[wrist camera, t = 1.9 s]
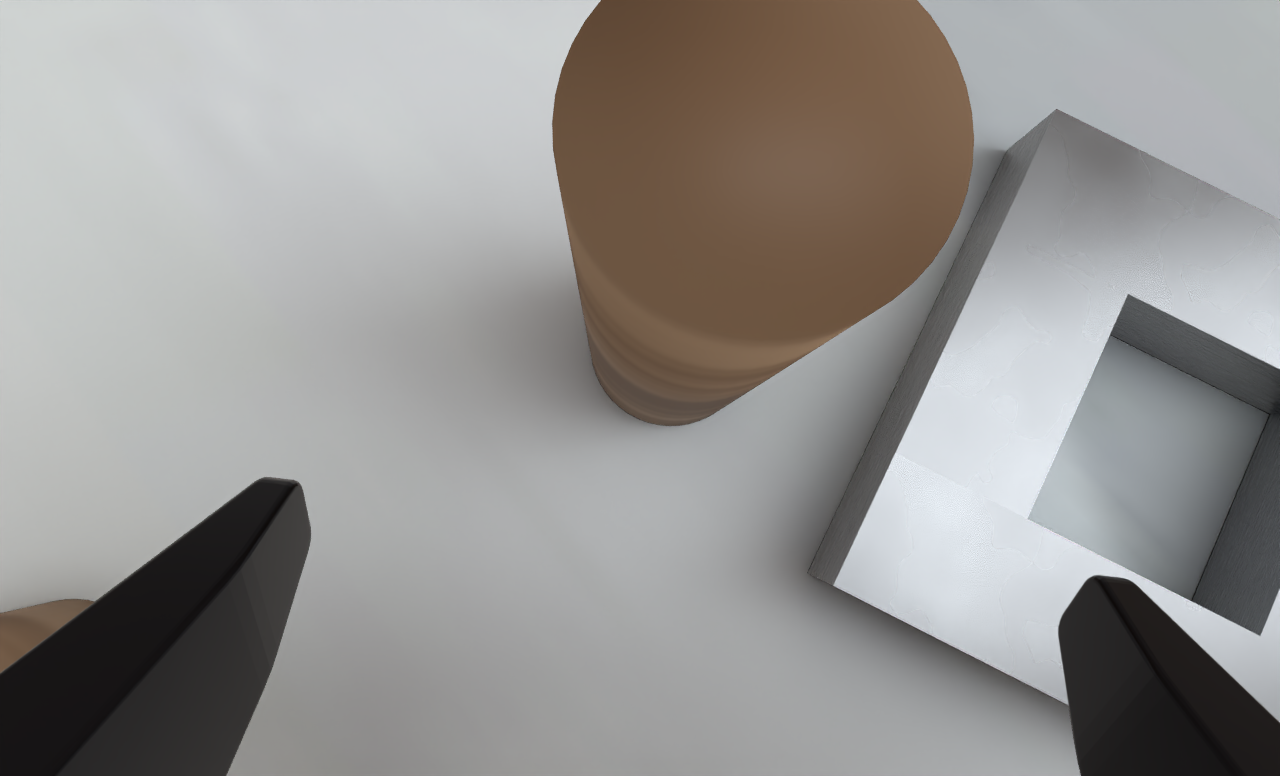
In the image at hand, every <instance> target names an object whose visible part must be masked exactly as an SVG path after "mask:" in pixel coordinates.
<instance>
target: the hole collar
mask: <svg viewBox="0 0 1280 776" xmlns="http://www.w3.org/2000/svg"><path fill="white" fill-rule="evenodd" d="M1109 335H1112V336H1114V337H1116V338H1118V339H1120V340H1122V341H1124V342H1126V343H1128V344H1130V345H1132V346H1134V347H1136V348H1138V349H1140V350H1142V351H1144V352H1146V353H1148V354H1150V355H1152V356H1154V357H1156V358H1158V359H1160V360H1162V361H1164V362H1166V363H1168V364H1170V365H1172V366H1174V367H1176V368H1178V369H1180V370H1182V371H1184V372H1186V373H1188V374H1190V375H1192V376H1194V377H1196V378H1198V379H1200V380H1202V381H1204V382H1206V383H1208V384H1210V385H1212V386H1214V387H1216V388H1218V389H1220V390H1222V391H1224V392H1226V393H1228V394H1230V395H1232V396H1235V397H1237V398H1239V399H1241V400H1243V401H1245V402H1247V403H1249V404H1251V405H1253V406H1255V407H1257V408H1259V409H1261V410H1263V411H1265V412H1267V413H1269V414H1270V417H1269V419H1268V421H1267V424H1266V426H1265V428H1264V431H1263V433H1262V436H1261V438H1260V440H1259V443H1258V445H1257V447H1256V450H1255V452H1254V455H1253V457H1252V459H1251V462H1250V464H1249V466H1248V469H1247V471H1246V474H1245V476H1244V478H1243V481H1242V483H1241V485H1240V488H1239V490H1238V493H1237V495H1236V497H1235V500H1234V502H1233V504H1232V507H1231V509H1230V512H1229V514H1228V516H1227V519H1226V521H1225V523H1224V526H1223V528H1222V531H1221V533H1220V535H1219V538H1218V540H1217V543H1216V545H1215V547H1214V550H1213V552H1212V554H1211V557H1210V559H1209V562H1208V564H1207V566H1206V569H1205V571H1204V573H1203V576H1202V578H1201V581H1200V583H1199V585H1198V588H1197V590H1196V592H1195V595H1194V597H1193V600H1192V601H1190V600H1188V599H1186V598H1184V597H1182V596H1180V595H1178V594H1176V593H1174V592H1172V591H1170V590H1168V589H1166V588H1164V587H1162V586H1160V585H1158V584H1156V583H1154V582H1152V581H1150V580H1148V579H1146V578H1144V577H1142V576H1140V575H1138V574H1136V573H1134V572H1132V571H1130V570H1128V569H1126V568H1124V567H1122V566H1120V565H1118V564H1116V563H1114V562H1112V561H1110V560H1108V559H1106V558H1104V557H1102V556H1100V555H1098V554H1096V553H1094V552H1092V551H1090V550H1088V549H1086V548H1084V547H1082V546H1080V545H1079V544H1077V543H1075V542H1073V541H1071V540H1069V539H1067V538H1065V537H1063V536H1061V535H1059V534H1057V533H1055V532H1053V531H1051V530H1049V529H1047V528H1045V527H1043V526H1041V525H1039V524H1037V523H1035V522H1033V521H1031V520H1029V519H1028V517H1029V514H1030V512H1031V510H1032V508H1033V505H1034V503H1035V501H1036V499H1037V496H1038V494H1039V492H1040V490H1041V488H1042V485H1043V483H1044V481H1045V479H1046V476H1047V474H1048V472H1049V470H1050V467H1051V465H1052V463H1053V461H1054V458H1055V456H1056V454H1057V452H1058V450H1059V447H1060V445H1061V443H1062V441H1063V438H1064V436H1065V434H1066V432H1067V429H1068V427H1069V425H1070V423H1071V420H1072V418H1073V416H1074V414H1075V411H1076V409H1077V407H1078V405H1079V403H1080V400H1081V398H1082V396H1083V394H1084V391H1085V389H1086V387H1087V385H1088V382H1089V380H1090V378H1091V376H1092V373H1093V371H1094V369H1095V367H1096V365H1097V362H1098V360H1099V358H1100V356H1101V353H1102V351H1103V349H1104V347H1105V344H1106V342H1107V340H1108V338H1109ZM808 573H809V574H810V575H812V576H814V577H816V578H818V579H820V580H822V581H824V582H826V583H828V584H830V585H832V586H834V587H836V588H838V589H840V590H842V591H844V592H846V593H848V594H850V595H852V596H854V597H856V598H858V599H860V600H862V601H864V602H866V603H868V604H870V605H872V606H873V607H875V608H877V609H879V610H881V611H883V612H885V613H887V614H889V615H891V616H893V617H895V618H897V619H899V620H901V621H903V622H905V623H907V624H909V625H911V626H913V627H915V628H917V629H919V630H921V631H923V632H925V633H927V634H929V635H931V636H933V637H935V638H937V639H938V640H940V641H942V642H944V643H946V644H948V645H950V646H952V647H954V648H956V649H958V650H960V651H962V652H964V653H966V654H968V655H970V656H972V657H974V658H976V659H978V660H980V661H982V662H984V663H986V664H988V665H990V666H992V667H994V668H996V669H998V670H1000V671H1002V672H1003V673H1005V674H1007V675H1009V676H1011V677H1013V678H1015V679H1017V680H1019V681H1021V682H1023V683H1025V684H1027V685H1029V686H1031V687H1033V688H1035V689H1037V690H1039V691H1041V692H1043V693H1045V694H1047V695H1049V696H1051V697H1053V698H1055V699H1057V700H1059V701H1061V702H1063V703H1065V704H1066V705H1068V698H1067V692H1066V685H1065V678H1064V672H1063V665H1062V659H1061V652H1060V645H1059V639H1058V627H1059V622H1060V619H1061V616H1062V614H1063V613H1064V611H1065V610H1066V608H1067V607H1068V605H1069V604H1070V602H1071V601H1072V600H1073V598H1074V597H1075V595H1076V594H1077V592H1078V591H1079V589H1080V588H1081V586H1082V585H1083V584H1084V582H1085V581H1086V580H1087V579H1088V578H1090V577H1091V576H1093V575H1103V576H1111V577H1119V578H1125V579H1128V580H1130V581H1132V582H1134V583H1135V584H1136V585H1137V586H1138V587H1139V588H1140V589H1141V590H1143V591H1144V592H1145V593H1146V594H1147V595H1148V596H1149V597H1150V598H1151V599H1152V600H1153V601H1154V602H1155V603H1156V604H1157V605H1158V606H1159V607H1160V608H1161V609H1162V610H1163V611H1164V612H1165V613H1166V614H1168V615H1169V616H1170V617H1171V618H1172V619H1173V620H1174V621H1175V622H1176V623H1177V624H1178V625H1179V626H1180V627H1181V628H1182V629H1183V630H1184V631H1185V632H1186V633H1187V634H1188V635H1189V636H1190V637H1191V638H1193V639H1194V640H1195V641H1196V642H1197V643H1198V644H1199V645H1200V646H1201V647H1202V648H1203V649H1204V650H1205V651H1206V652H1207V653H1208V654H1209V655H1210V656H1211V657H1212V658H1213V659H1214V660H1215V661H1216V662H1218V663H1219V664H1220V665H1221V666H1222V667H1223V668H1224V669H1225V670H1226V671H1227V672H1228V673H1229V674H1230V675H1231V676H1232V677H1233V678H1234V679H1235V680H1236V681H1237V682H1238V683H1239V684H1240V685H1241V686H1243V687H1244V688H1245V689H1246V690H1247V691H1248V692H1249V693H1250V694H1251V695H1252V696H1253V697H1254V698H1255V699H1256V700H1257V701H1258V702H1259V703H1260V704H1261V705H1262V706H1263V707H1264V708H1265V709H1266V710H1268V711H1269V712H1270V713H1271V714H1272V715H1273V716H1274V717H1275V718H1276V719H1277V720H1278V721H1279V722H1280V219H1279V218H1277V217H1275V216H1273V215H1271V214H1269V213H1267V212H1265V211H1263V210H1260V209H1258V208H1256V207H1254V206H1252V205H1250V204H1248V203H1246V202H1244V201H1242V200H1240V199H1238V198H1236V197H1234V196H1232V195H1230V194H1228V193H1226V192H1224V191H1222V190H1220V189H1218V188H1216V187H1214V186H1212V185H1210V184H1208V183H1206V182H1204V181H1202V180H1200V179H1198V178H1196V177H1194V176H1192V175H1190V174H1187V173H1185V172H1183V171H1181V170H1179V169H1177V168H1175V167H1173V166H1171V165H1169V164H1167V163H1165V162H1163V161H1161V160H1159V159H1157V158H1155V157H1153V156H1151V155H1149V154H1147V153H1145V152H1143V151H1141V150H1139V149H1137V148H1135V147H1133V146H1131V145H1129V144H1127V143H1125V142H1123V141H1121V140H1119V139H1117V138H1114V137H1112V136H1110V135H1108V134H1106V133H1104V132H1102V131H1100V130H1098V129H1096V128H1094V127H1092V126H1090V125H1088V124H1086V123H1084V122H1082V121H1080V120H1078V119H1076V118H1074V117H1072V116H1070V115H1068V114H1066V113H1064V112H1062V111H1060V110H1058V109H1056V110H1055V111H1054V112H1052V113H1051V114H1050V115H1049V116H1048V117H1046V118H1045V119H1044V120H1043V121H1042V122H1040V123H1039V124H1038V125H1037V126H1036V127H1034V128H1033V129H1032V130H1031V131H1030V132H1028V133H1027V134H1026V135H1025V136H1024V137H1022V138H1021V139H1020V140H1019V141H1018V142H1016V143H1015V144H1014V145H1013V146H1012V147H1010V148H1009V149H1008V150H1007V152H1006V154H1005V156H1004V158H1003V160H1002V163H1001V165H1000V167H999V169H998V171H997V173H996V175H995V177H994V179H993V182H992V184H991V186H990V188H989V190H988V192H987V194H986V196H985V198H984V201H983V203H982V205H981V207H980V209H979V211H978V213H977V215H976V217H975V220H974V222H973V224H972V226H971V228H970V230H969V232H968V234H967V237H966V239H965V241H964V243H963V245H962V247H961V249H960V251H959V253H958V256H957V258H956V260H955V262H954V264H953V266H952V268H951V270H950V272H949V275H948V277H947V279H946V281H945V283H944V285H943V287H942V289H941V291H940V294H939V296H938V298H937V300H936V302H935V304H934V306H933V308H932V310H931V313H930V315H929V317H928V319H927V321H926V323H925V325H924V327H923V330H922V332H921V334H920V336H919V338H918V340H917V342H916V344H915V346H914V349H913V351H912V353H911V355H910V357H909V359H908V361H907V363H906V365H905V368H904V370H903V372H902V374H901V376H900V378H899V380H898V382H897V384H896V387H895V389H894V391H893V393H892V395H891V397H890V399H889V401H888V403H887V406H886V408H885V410H884V412H883V414H882V416H881V418H880V420H879V422H878V425H877V427H876V429H875V431H874V433H873V435H872V437H871V439H870V442H869V444H868V446H867V448H866V450H865V452H864V454H863V456H862V458H861V461H860V463H859V465H858V467H857V469H856V471H855V473H854V475H853V477H852V480H851V482H850V484H849V486H848V488H847V490H846V492H845V494H844V496H843V499H842V501H841V503H840V505H839V507H838V509H837V511H836V513H835V515H834V518H833V520H832V522H831V524H830V526H829V528H828V530H827V532H826V534H825V537H824V539H823V541H822V543H821V545H820V547H819V549H818V551H817V554H816V556H815V558H814V560H813V562H812V564H811V566H810V568H809V570H808ZM1068 706H1069V705H1068Z"/></svg>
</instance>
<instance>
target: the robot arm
mask: <svg viewBox="0 0 1280 776" xmlns="http://www.w3.org/2000/svg"><path fill="white" fill-rule="evenodd" d="M310 541H311V527H310V522H309V517H308V512H307V507H306V502H305V497H304V493H303V489H302V486H301V485H300V483H299V482H297V481H295V480H289V479H281V478H272V477H264V478H261V479H259V480H257V481H255V482H254V483H252V484H251V485H250V486H248V487H247V488H246V489H244V490H243V491H242V492H240V493H239V494H238V495H236V496H235V497H234V498H232V499H231V500H230V501H228V502H227V503H226V504H224V505H223V506H222V507H220V508H219V509H218V510H216V511H215V512H214V513H212V514H211V515H210V516H208V517H207V518H206V519H204V520H203V521H202V522H200V523H199V524H198V525H196V526H195V527H194V528H192V529H191V530H190V531H188V532H187V533H186V534H184V535H183V536H182V537H180V538H179V539H178V540H176V541H175V542H174V543H172V544H171V545H170V546H168V547H167V548H166V549H164V550H163V551H162V552H160V553H159V554H158V555H156V556H155V557H154V558H152V559H151V560H150V561H148V562H147V563H146V564H144V565H143V566H142V567H140V568H139V569H138V570H136V571H135V572H134V573H132V574H131V575H130V576H128V577H127V578H126V579H124V580H123V581H122V582H120V583H119V584H118V585H116V586H115V587H114V588H112V589H111V590H110V591H108V592H107V593H106V594H104V595H103V596H102V597H100V598H99V599H98V600H96V601H95V602H94V603H92V604H91V605H90V606H88V607H87V608H86V609H84V610H83V611H82V612H80V613H79V614H78V615H76V616H75V617H74V618H72V619H71V620H70V621H68V622H67V623H66V624H64V625H63V626H62V627H60V628H59V629H58V630H56V631H55V632H54V633H52V634H51V635H50V636H48V637H47V638H46V639H44V640H43V641H42V642H40V643H39V644H38V645H36V646H35V647H34V648H32V649H31V650H30V651H28V652H27V653H26V654H24V655H23V656H22V657H20V658H19V659H18V660H16V661H15V662H14V663H13V664H11V665H10V666H9V667H7V668H6V669H5V670H3V671H2V672H1V673H0V776H226V775H227V773H228V770H229V768H230V766H231V763H232V761H233V759H234V757H235V754H236V752H237V750H238V747H239V745H240V743H241V741H242V738H243V736H244V734H245V731H246V729H247V727H248V724H249V722H250V720H251V718H252V715H253V713H254V711H255V708H256V706H257V704H258V702H259V699H260V697H261V695H262V692H263V690H264V688H265V685H266V683H267V680H268V678H269V675H270V673H271V670H272V667H273V664H274V661H275V658H276V655H277V652H278V649H279V645H280V642H281V639H282V636H283V632H284V629H285V626H286V622H287V619H288V616H289V613H290V609H291V606H292V603H293V599H294V596H295V593H296V590H297V586H298V583H299V580H300V577H301V573H302V570H303V567H304V563H305V560H306V557H307V554H308V550H309V546H310ZM1058 639H1059V645H1060V652H1061V659H1062V665H1063V672H1064V678H1065V685H1066V692H1067V698H1068V705H1069V712H1070V718H1071V725H1072V731H1073V738H1074V744H1075V750H1076V755H1077V761H1078V765H1079V769H1080V774H1081V776H1280V722H1279V721H1278V720H1277V719H1276V718H1275V717H1274V716H1273V715H1272V714H1271V713H1270V712H1269V711H1268V710H1266V709H1265V708H1264V707H1263V706H1262V705H1261V704H1260V703H1259V702H1258V701H1257V700H1256V699H1255V698H1254V697H1253V696H1252V695H1251V694H1250V693H1249V692H1248V691H1247V690H1246V689H1245V688H1244V687H1243V686H1241V685H1240V684H1239V683H1238V682H1237V681H1236V680H1235V679H1234V678H1233V677H1232V676H1231V675H1230V674H1229V673H1228V672H1227V671H1226V670H1225V669H1224V668H1223V667H1222V666H1221V665H1220V664H1219V663H1218V662H1216V661H1215V660H1214V659H1213V658H1212V657H1211V656H1210V655H1209V654H1208V653H1207V652H1206V651H1205V650H1204V649H1203V648H1202V647H1201V646H1200V645H1199V644H1198V643H1197V642H1196V641H1195V640H1194V639H1193V638H1191V637H1190V636H1189V635H1188V634H1187V633H1186V632H1185V631H1184V630H1183V629H1182V628H1181V627H1180V626H1179V625H1178V624H1177V623H1176V622H1175V621H1174V620H1173V619H1172V618H1171V617H1170V616H1169V615H1168V614H1166V613H1165V612H1164V611H1163V610H1162V609H1161V608H1160V607H1159V606H1158V605H1157V604H1156V603H1155V602H1154V601H1153V600H1152V599H1151V598H1150V597H1149V596H1148V595H1147V594H1146V593H1145V592H1144V591H1143V590H1141V589H1140V588H1139V587H1138V586H1137V585H1136V584H1135V583H1134V582H1132V581H1130V580H1128V579H1125V578H1119V577H1111V576H1103V575H1093V576H1091V577H1090V578H1088V579H1087V580H1086V581H1085V582H1084V584H1083V585H1082V586H1081V588H1080V589H1079V591H1078V592H1077V594H1076V595H1075V597H1074V598H1073V600H1072V601H1071V602H1070V604H1069V605H1068V607H1067V608H1066V610H1065V611H1064V613H1063V614H1062V616H1061V619H1060V622H1059V627H1058Z"/></svg>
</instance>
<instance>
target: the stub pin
mask: <svg viewBox="0 0 1280 776" xmlns="http://www.w3.org/2000/svg"><path fill="white" fill-rule="evenodd" d="M92 603H94V601H89V600H81V599H65V600H59V601H53V602H49V603H44V604H40V605H35V606H31V607H26V608H22V609H17V610H13V611H8V612H4V613H0V673H1V672H2V671H3V670H5V669H6V668H7V667H9V666H10V665H11V664H13V663H14V662H15V661H16V660H18V659H19V658H20V657H22V656H23V655H24V654H26V653H27V652H28V651H30V650H31V649H32V648H34V647H35V646H36V645H38V644H39V643H40V642H42V641H43V640H44V639H46V638H47V637H48V636H50V635H51V634H52V633H54V632H55V631H56V630H58V629H59V628H60V627H62V626H63V625H64V624H66V623H67V622H68V621H70V620H71V619H72V618H74V617H75V616H76V615H78V614H79V613H80V612H82V611H83V610H84V609H86V608H87V607H88V606H90V605H91V604H92Z"/></svg>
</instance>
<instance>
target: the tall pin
mask: <svg viewBox="0 0 1280 776" xmlns="http://www.w3.org/2000/svg"><path fill="white" fill-rule="evenodd" d="M552 127H553V151H554V157H555V164H556V170H557V176H558V181H559V187H560V192H561V197H562V203H563V208H564V213H565V219H566V224H567V230H568V235H569V240H570V246H571V251H572V256H573V262H574V267H575V272H576V278H577V283H578V289H579V294H580V299H581V305H582V310H583V315H584V321H585V326H586V331H587V337H588V342H589V348H590V353H591V358H592V364H593V367H594V370H595V374H596V376H597V378H598V380H599V382H600V384H601V386H602V387H603V389H604V391H605V392H606V393H607V395H608V396H609V397H610V398H611V399H612V401H613V402H615V403H616V404H617V405H618V406H619V407H620V408H621V409H623V410H624V411H625V412H627V413H628V414H630V415H632V416H634V417H636V418H638V419H640V420H643V421H645V422H648V423H653V424H657V425H665V426H679V425H685V424H691V423H694V422H697V421H700V420H702V419H705V418H707V417H709V416H711V415H712V414H714V413H715V412H717V411H719V410H720V409H722V408H723V407H725V406H727V405H728V404H730V403H731V402H733V401H734V400H736V399H738V398H739V397H741V396H742V395H744V394H745V393H747V392H749V391H750V390H752V389H753V388H755V387H756V386H758V385H760V384H761V383H763V382H764V381H766V380H768V379H769V378H771V377H772V376H774V375H775V374H777V373H779V372H780V371H782V370H783V369H785V368H786V367H788V366H790V365H791V364H793V363H794V362H796V361H797V360H799V359H801V358H802V357H804V356H805V355H807V354H808V353H810V352H812V351H813V350H815V349H816V348H818V347H820V346H821V345H823V344H824V343H826V342H827V341H829V340H831V339H832V338H834V337H835V336H837V335H838V334H840V333H842V332H843V331H845V330H846V329H848V328H849V327H851V326H853V325H854V324H856V323H857V322H859V321H860V320H862V319H864V318H865V317H867V316H868V315H870V314H872V313H873V312H875V311H876V310H878V309H879V308H881V307H883V306H884V305H886V304H887V303H889V302H890V301H892V300H893V299H894V298H896V297H897V296H898V295H899V294H900V293H902V292H903V291H904V290H905V289H906V288H908V287H909V286H910V285H911V284H912V283H914V281H915V280H916V279H917V278H918V277H919V276H920V275H921V274H922V273H923V272H924V270H925V269H926V268H927V267H928V266H929V265H930V264H931V263H932V261H933V260H934V258H935V257H936V256H937V254H938V253H939V251H940V250H941V248H942V247H943V245H944V244H945V242H946V241H947V239H948V237H949V235H950V233H951V231H952V229H953V227H954V225H955V223H956V221H957V219H958V217H959V215H960V212H961V209H962V206H963V203H964V200H965V197H966V194H967V191H968V186H969V181H970V175H971V170H972V164H973V147H974V133H973V120H972V111H971V106H970V101H969V96H968V92H967V87H966V84H965V81H964V78H963V75H962V73H961V70H960V67H959V64H958V61H957V59H956V57H955V55H954V53H953V51H952V50H951V48H950V46H949V44H948V42H947V40H946V38H945V36H944V35H943V33H942V32H941V30H940V29H939V27H938V26H937V24H936V23H935V21H934V20H933V19H932V17H931V16H930V14H929V13H928V12H927V11H926V10H925V9H924V8H923V6H922V5H921V4H920V3H919V2H918V1H917V0H601V1H600V2H599V4H598V5H597V6H596V8H595V9H594V10H593V12H592V13H591V14H590V15H589V17H588V18H587V19H586V21H585V22H584V24H583V26H582V27H581V29H580V31H579V33H578V34H577V36H576V38H575V40H574V41H573V43H572V45H571V48H570V50H569V53H568V55H567V57H566V60H565V62H564V65H563V67H562V70H561V74H560V78H559V82H558V86H557V90H556V94H555V102H554V111H553V120H552Z"/></svg>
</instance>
